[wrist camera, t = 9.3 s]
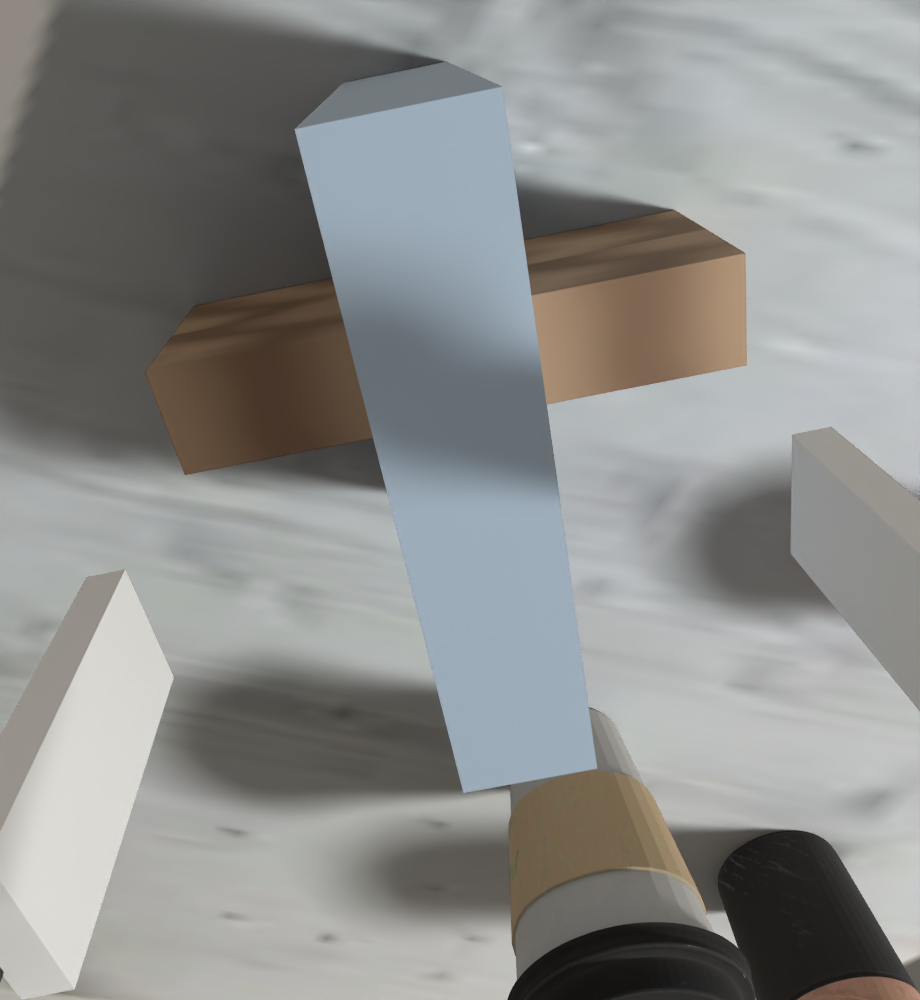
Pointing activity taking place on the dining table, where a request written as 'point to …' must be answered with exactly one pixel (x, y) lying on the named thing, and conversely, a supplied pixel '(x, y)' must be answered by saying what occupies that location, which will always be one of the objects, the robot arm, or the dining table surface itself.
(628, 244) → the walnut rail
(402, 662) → the dining table surface
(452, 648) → the light blue slab
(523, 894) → the coffee cup
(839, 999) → the travel mug
